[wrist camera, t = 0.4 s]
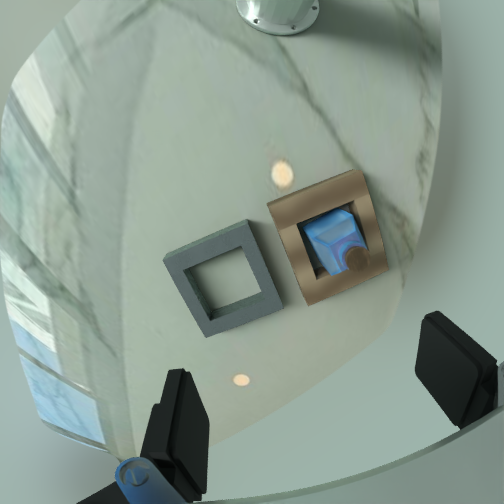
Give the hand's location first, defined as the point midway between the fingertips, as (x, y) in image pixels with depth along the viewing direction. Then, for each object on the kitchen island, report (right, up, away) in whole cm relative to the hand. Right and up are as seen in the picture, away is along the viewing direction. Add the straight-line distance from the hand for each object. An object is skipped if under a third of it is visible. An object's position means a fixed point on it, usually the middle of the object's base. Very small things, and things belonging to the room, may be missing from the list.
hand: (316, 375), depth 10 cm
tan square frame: (+9, +7, +34) cm, 36 cm away
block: (-6, +1, +35) cm, 36 cm away
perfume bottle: (+9, +7, +34) cm, 36 cm away
